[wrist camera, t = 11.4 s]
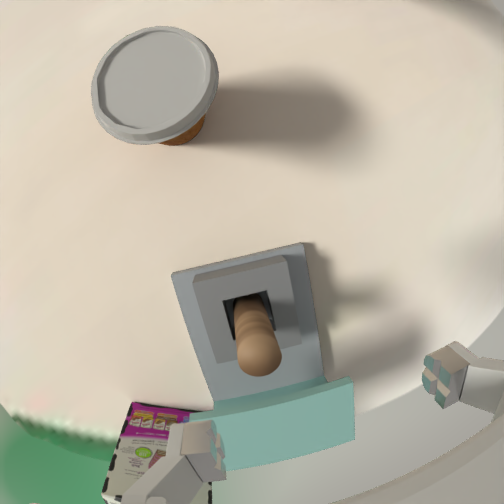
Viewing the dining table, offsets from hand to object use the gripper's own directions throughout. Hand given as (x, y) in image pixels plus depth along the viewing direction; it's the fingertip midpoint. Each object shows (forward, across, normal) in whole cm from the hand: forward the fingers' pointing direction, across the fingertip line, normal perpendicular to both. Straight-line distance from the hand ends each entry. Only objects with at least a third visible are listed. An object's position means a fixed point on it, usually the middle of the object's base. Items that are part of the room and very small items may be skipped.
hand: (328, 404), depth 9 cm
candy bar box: (+22, +16, +20) cm, 34 cm away
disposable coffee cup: (+24, +5, -16) cm, 29 cm away
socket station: (+23, +2, +9) cm, 24 cm away
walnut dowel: (+22, +2, +5) cm, 22 cm away
